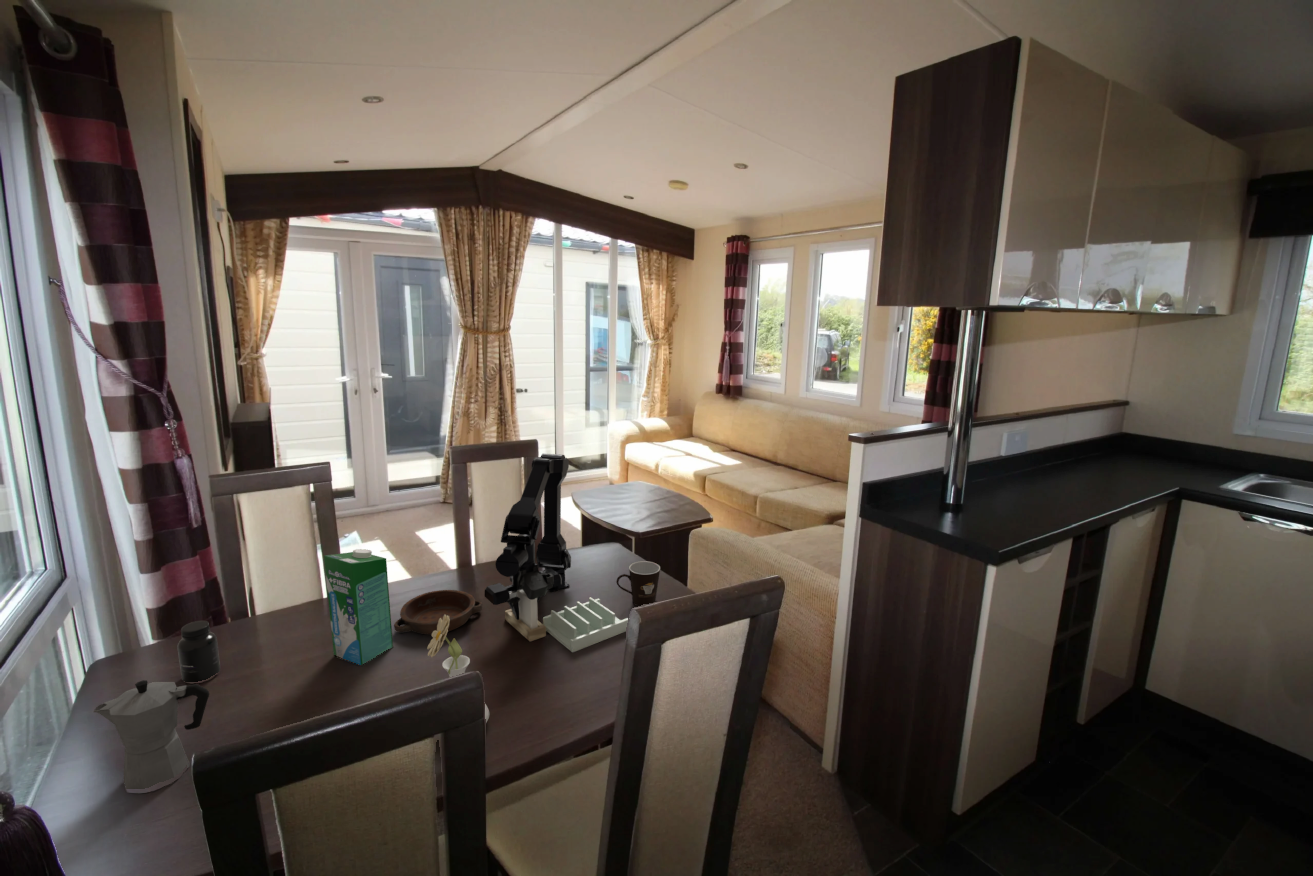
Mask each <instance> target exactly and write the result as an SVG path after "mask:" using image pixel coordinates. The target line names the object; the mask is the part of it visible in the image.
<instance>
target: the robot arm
mask: <svg viewBox="0 0 1313 876" xmlns="http://www.w3.org/2000/svg"><path fill="white" fill-rule="evenodd" d="M531 462H532V463H531V470H530V472H529V476H528V478H527V481H526V484H525V486H524V489H523V492H522V494H521V497H520V499H519V500H518V501H517V502H515V503H514V504H513V505H512V506H511V508H510V510H509V512H508V514H507V515H506V517H505V520H504V524H503V529H502V534H501V537H500V543H504V544H506V546H504V548H503V549H502V550H503V552H501V553H500V554H499V556H497V557H496V560H495V568H496V570H497V572H498V573H499V574H500V575H501V576H503V577H506V578H509V581H510V582H511V583H512V584H510V585H503V583H501V582H497V583H494V584H491V585H488V586H486V587H485V588H484V598H485V599H487V600H488V601H489V602H490V603H491V604H492V605H494V606H498V605H501V604H504V603H507V604H508V605H509V607H510V609H511V610H512V612H513V614H514V616H515V618H516V619H517V620H519V604H518V602H519V601H520V598H518V597H517V591H520V590H523V591H524V592H525V594H526V595H527V597H528V598H529V599H530V600H533V599H535V598H537V606H538V605H539V602H540V599H541V597H545V596H546V595H547V592H550V593H552V592H556V591H558V590H562V589H565V588H569V587H570V585H571V584H570V583H569V582H567V581H566V571H567V570H568V569H571V568H572V556H571V554H570V552H569V550H568V549H567V541H566V540H565V538H564V536H563V535H562V533H561V526H562V525H561V516H562V515H561V513H562V512H561V511H562V510H561V509H562V508H561V507H562V505H561V503H562V501H561V500H562V496H561V495H562V488H561V487H562V483H563V482H564V480H565V479H566V477H567V474H568V471H569V466H570V461H569V458H567V457H566V455H565V454H557V453H556V454H555V453H542V454H541V456H539V457H538V456H536V457H534V458H533V459H532V461H531ZM542 498H543V537H542V538H541V540H540V541H539V542H538V544H537V546H536V543H535V542H536V540H537V538H538V536H539V535H538V534H539V531H540V527H541V520H540V518H541V517H540V515H539V512H538V510H539V506H540V503H541V500H542ZM510 534H511V535H510ZM512 534H513V535H512ZM514 534H515V535H514ZM536 547H537V550H536ZM540 568H543V570H540Z"/></svg>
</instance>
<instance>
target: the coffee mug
mask: <svg viewBox="0 0 1313 876" xmlns="http://www.w3.org/2000/svg"><path fill="white" fill-rule="evenodd" d="M628 571H629V574H625V573H624V574H621V575H619V576H618V577H617V578H616V581H615V582H616V585H617V586H618V588H620V589H621V590H622V591H624V592H626V593H628V594H630V595H631V599H632V603H633V602H634V603H633V604H634V605H635V604H636V606H638V607H640V606H639V605H643V604H649V603H653V602H655V603H656V601H657V600H656V599H657V594H658V593H657V591H658V587H659V586H658V585H659V579H660V574H661V566H660V564H657V563H655V562H653V561H649V560H648V561H646V560H645V561H644V560H643V561H642V560H641V561H636V562H633V563H631V564H630V565H629V567H628ZM624 577H625V578H627V579H628V580H629V582H630V589H631V590H629V589H626V588H625V587H623V586H621V585H620V583H619V582H620V579H621V578H624Z"/></svg>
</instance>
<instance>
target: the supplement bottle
mask: <svg viewBox="0 0 1313 876" xmlns="http://www.w3.org/2000/svg"><path fill="white" fill-rule="evenodd" d="M180 629H181V630H180V633H181V639H180V640H179V641H178V643H177V647H176V648H177V649H176V650H177V654H178V662H179V668H180V675H181V680H183V681H185V682H198V681H202V680H206V679H208V678H210V677H211V676H213V675H215V674H216V673H218V672H219V671H220V672H221V662H220V661H221V660H220V655H219V654H220V653H219V645H218V638H217V635H216V634H215V633H214V632H212V631H211V628H210V623H209V621H207V620H195V621H192V622H189V623H186V624H185V625H183V626H182V627H181V628H180ZM220 672H219V673H220ZM183 681H182V682H183Z"/></svg>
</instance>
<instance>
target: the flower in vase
mask: <svg viewBox="0 0 1313 876" xmlns="http://www.w3.org/2000/svg"><path fill="white" fill-rule="evenodd" d="M449 622H450V619H449V616H446V615H444V616H443V620H442V619H441V618H440V619H439V621H438V625H437V631H433V632H432V634H431V637H432V639H431V640H430V641H429V643H428V645H427V648H426V649H427V650H428V652H427V656H428V657H431V658H433V657H436V655H437V653H439V651H440V649H441V648H442V646H443V645H444V641H446V642H447V644H448V645H449V646H448V648H447V653H448V654H449V655H450V657H448V658H446V659H445V660H444V661H442V663H441V665H442V668H443V669H444V670H445V671H446V672H447V674H448V676H449V677H448V678H450V677H452V676H456V675H459V674H462V673H464V674H465V672H466V670H467V668H468V666H469V664H470V663H471V659H470V657H468V656H467V655H463V654H462V653H463V649H462V648H461V646H460V644H459V643H458V641H457V640H456V638H453V639H452V640H451V641H450V640H449V638H448V637H447V634H448V632H449V631H448V627H449ZM489 718H490V710H489V708H488V705H487V704H486V703H485V719H486V723H487V722H488V720H489Z"/></svg>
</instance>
